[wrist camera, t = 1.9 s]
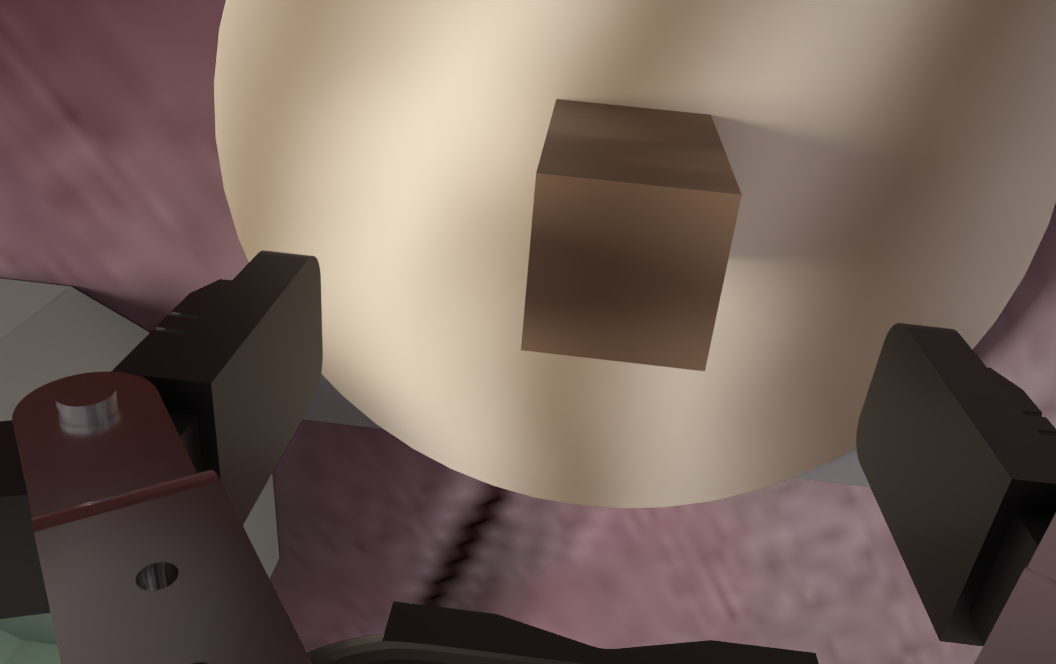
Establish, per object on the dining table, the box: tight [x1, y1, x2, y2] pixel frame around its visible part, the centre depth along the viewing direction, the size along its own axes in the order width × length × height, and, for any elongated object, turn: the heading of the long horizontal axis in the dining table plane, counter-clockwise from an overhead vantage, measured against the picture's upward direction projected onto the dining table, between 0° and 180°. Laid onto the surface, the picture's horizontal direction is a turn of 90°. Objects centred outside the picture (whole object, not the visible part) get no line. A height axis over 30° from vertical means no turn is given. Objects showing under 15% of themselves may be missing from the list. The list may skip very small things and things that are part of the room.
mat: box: [303, 374, 870, 487], centre depth 19 cm, size 16×16×1 cm
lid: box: [214, 0, 1056, 508], centre depth 17 cm, size 18×18×6 cm
